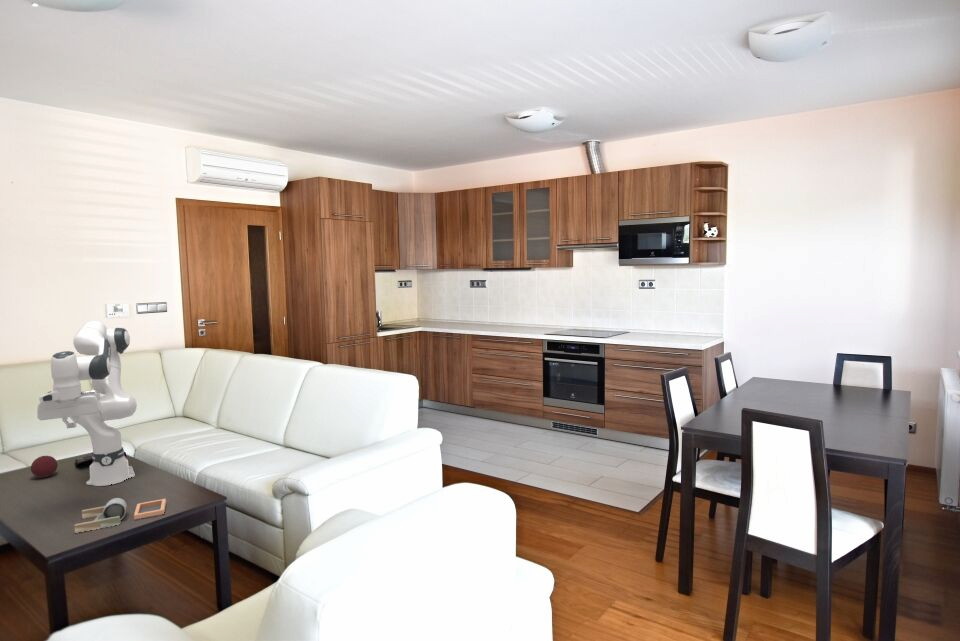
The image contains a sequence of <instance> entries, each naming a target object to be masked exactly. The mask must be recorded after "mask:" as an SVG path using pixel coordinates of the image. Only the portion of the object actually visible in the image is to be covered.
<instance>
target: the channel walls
mask: <svg viewBox="0 0 960 641" xmlns="http://www.w3.org/2000/svg"><path fill="white" fill-rule="evenodd" d="M105 506H106V505H103V506H97V507H93V508H92V507H91V508H87V509H82V510H81V515H82V516H81V519H83V520H85V519H90V517H91V518H94V517H95V518H96V517H98V516H99V515H100V514H102V512H103V510H104V508H105ZM94 520H95V519H94ZM94 520H91V521H90V520H89V521H85V522H84V521H83V522H80V523H75V524H74V534H75V533H76V534H80V533H79V532H82V533H85V532H84V531H87V532H91V531H90V530H92V531H96V529H97V530H101V529H100V528H102V529H106V527H107V528H111V526H112V527H116V526H115V525H117V526H120V525H121V524H120V523H121V520H120V516H116V517H110V518H105V519H100V520H95V521H94ZM119 524H120V525H119Z"/></svg>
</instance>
